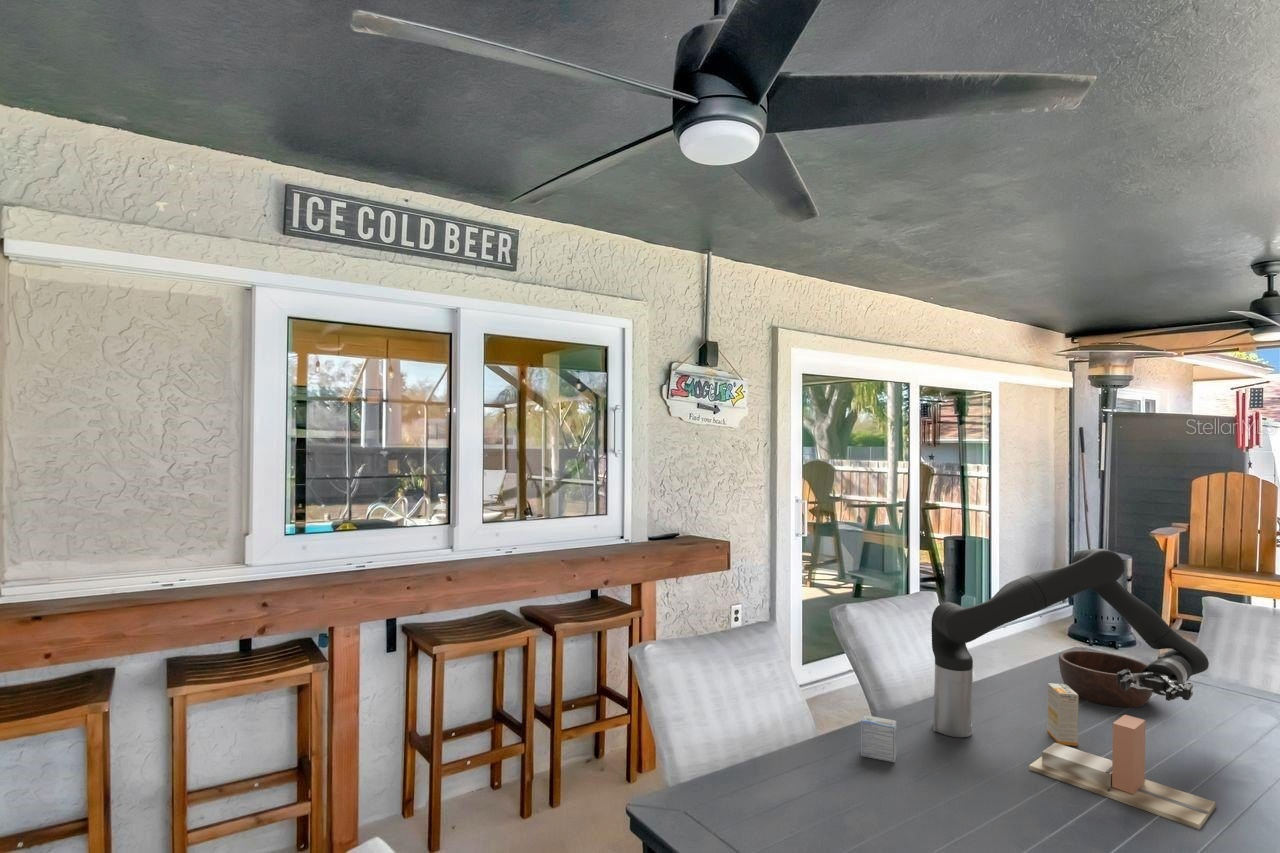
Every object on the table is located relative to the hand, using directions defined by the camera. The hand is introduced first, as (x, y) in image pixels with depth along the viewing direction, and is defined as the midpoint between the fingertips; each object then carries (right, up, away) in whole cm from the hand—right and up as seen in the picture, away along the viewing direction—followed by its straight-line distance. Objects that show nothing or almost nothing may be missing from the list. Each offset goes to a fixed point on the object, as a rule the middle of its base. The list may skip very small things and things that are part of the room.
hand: (1145, 690), depth 164 cm
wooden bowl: (+25, -21, +52) cm, 61 cm away
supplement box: (-8, -20, +19) cm, 29 cm away
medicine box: (-60, -19, +7) cm, 63 cm away
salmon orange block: (-9, -18, -7) cm, 22 cm away
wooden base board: (-10, -19, -6) cm, 23 cm away
